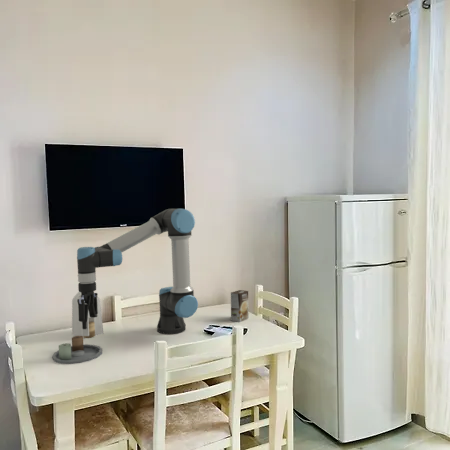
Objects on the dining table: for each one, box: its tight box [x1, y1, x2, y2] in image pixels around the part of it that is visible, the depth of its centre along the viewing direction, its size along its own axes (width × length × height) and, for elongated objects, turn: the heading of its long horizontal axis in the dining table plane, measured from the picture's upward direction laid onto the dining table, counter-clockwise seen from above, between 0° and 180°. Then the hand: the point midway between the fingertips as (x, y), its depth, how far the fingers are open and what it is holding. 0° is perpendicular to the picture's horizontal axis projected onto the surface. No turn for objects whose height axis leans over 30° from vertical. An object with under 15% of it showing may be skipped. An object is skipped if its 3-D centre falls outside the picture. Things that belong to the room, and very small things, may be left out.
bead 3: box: [83, 322, 96, 339], centre depth 190 cm, size 5×5×6 cm
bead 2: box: [71, 335, 84, 352], centre depth 198 cm, size 5×5×6 cm
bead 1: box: [58, 342, 72, 360], centre depth 187 cm, size 5×5×6 cm
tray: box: [51, 343, 103, 365], centre depth 192 cm, size 21×21×2 cm
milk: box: [71, 291, 104, 340], centre depth 223 cm, size 12×12×26 cm
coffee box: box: [230, 289, 250, 323], centre depth 244 cm, size 9×6×16 cm
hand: (89, 333), depth 190 cm, fingers closed on bead 3, 5 cm apart
